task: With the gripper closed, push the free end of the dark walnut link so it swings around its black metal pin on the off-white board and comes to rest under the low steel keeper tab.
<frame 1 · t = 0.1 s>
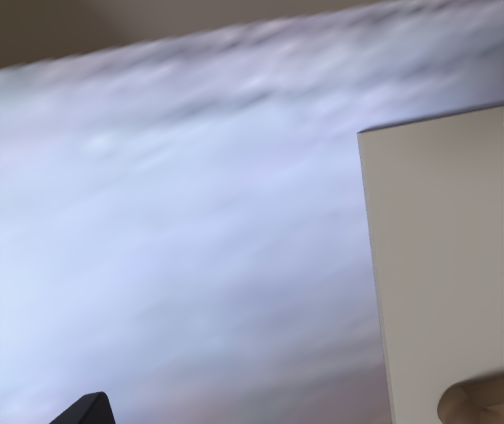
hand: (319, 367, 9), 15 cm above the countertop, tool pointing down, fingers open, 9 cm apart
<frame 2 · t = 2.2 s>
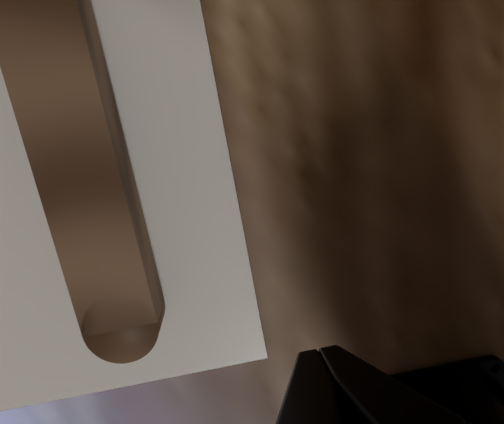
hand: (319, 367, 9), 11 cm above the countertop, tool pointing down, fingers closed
link: (74, 129, 15), point 2 cm above the countertop, hinge at 75.0°
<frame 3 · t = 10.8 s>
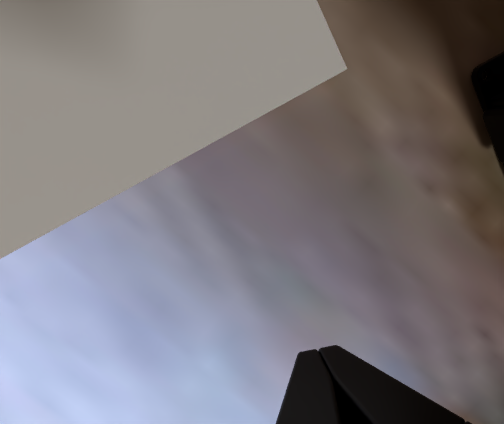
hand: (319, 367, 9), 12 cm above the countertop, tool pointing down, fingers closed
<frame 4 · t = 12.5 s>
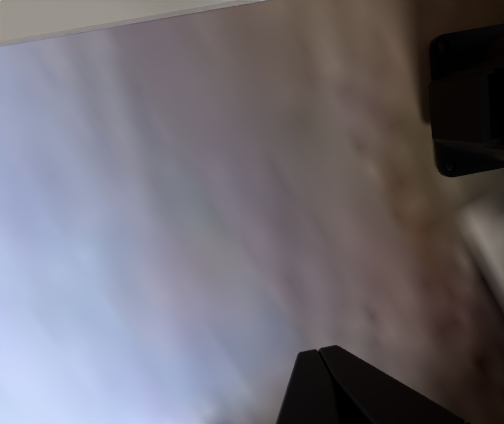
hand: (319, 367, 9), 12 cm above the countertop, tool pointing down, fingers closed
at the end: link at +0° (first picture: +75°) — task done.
